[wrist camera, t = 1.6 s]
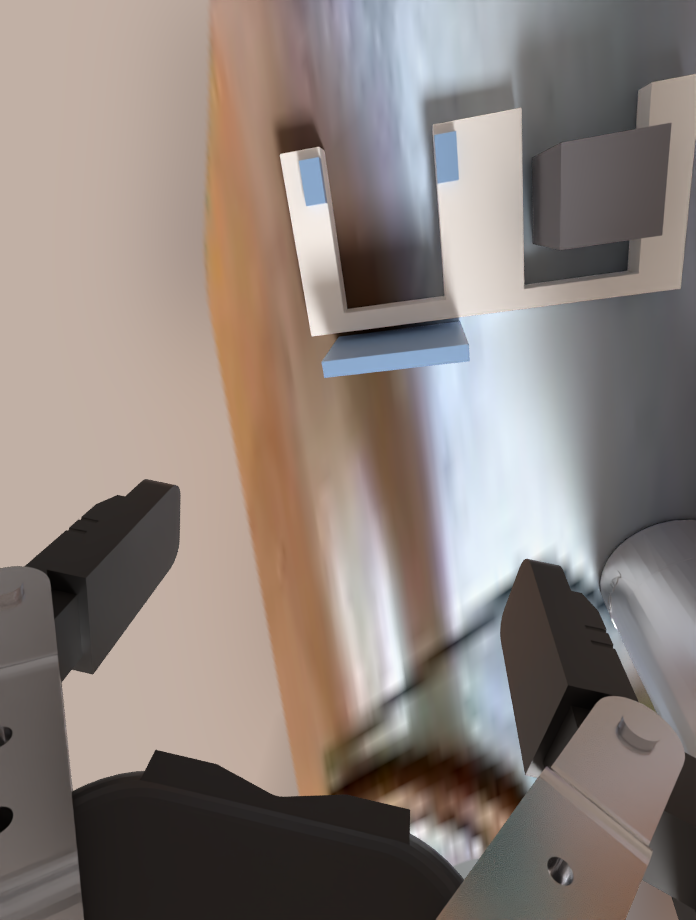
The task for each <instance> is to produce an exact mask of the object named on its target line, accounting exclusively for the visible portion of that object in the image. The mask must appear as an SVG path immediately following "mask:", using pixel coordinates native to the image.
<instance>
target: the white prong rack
mask: <svg viewBox="0 0 696 920" xmlns="http://www.w3.org/2000/svg"><path fill="white" fill-rule="evenodd" d="M666 123H672V124H671V137H670V149H669V161H668V173H667V185H666V197H665V209H664V221H663V233H662V235H661V236H655V237H648V238H641V239H634V240H629V253H628V270H627V271H621V272H614V273H606V274H599V275H592V276H584V277H577V278H570V279H563V280H555V281H548V282H541V283H533V284H526V285H524V243H523V173H522V108H516V109H511V110H506V111H501V112H496V113H490V114H485V115H480V116H475V117H470V118H465V119H459V120H454V121H449V122H444V123H439V124H434V125H433V128H432V133H433V147H434V160H435V174H436V188H437V201H438V215H439V229H440V242H441V256H442V270H443V283H444V296H438V297H431V298H424V299H417V300H409V301H402V302H395V303H387V304H380V305H373V306H365V307H358V308H351V309H347V302H346V295H345V288H344V281H343V275H342V268H341V261H340V254H339V247H338V240H337V233H336V226H335V220H334V213H333V206H332V199H331V192H330V185H329V178H328V172H327V165H326V158H325V151H324V150H323V149H322V148H320V147H315V148H309V149H304V150H299V151H294V152H289V153H284V154H280V159H281V165H282V170H283V176H284V182H285V187H286V193H287V199H288V204H289V210H290V216H291V221H292V227H293V233H294V238H295V244H296V250H297V256H298V261H299V267H300V273H301V278H302V284H303V290H304V295H305V301H306V307H307V312H308V318H309V324H310V329H311V335H312V336H318V335H326V334H334V333H342V332H349V331H357V330H365V329H372V328H380V327H388V326H396V325H403V324H411V323H419V322H427V321H434V320H442V319H450V318H457V317H465V316H473V315H481V314H488V313H496V312H504V311H512V310H519V309H527V308H535V307H543V306H550V305H558V304H566V303H573V302H581V301H589V300H597V299H604V298H612V297H620V296H628V295H635V294H643V293H651V292H659V291H666V290H674V289H681V279H682V269H683V259H684V249H685V239H686V229H687V219H688V209H689V199H690V189H691V179H692V169H693V159H694V149H695V139H696V74H692V75H687V76H682V77H677V78H672V79H666V80H661V81H656V82H652V83H650V84H648V85H646V86H645V87H643V88H641V89H640V90H638V104H637V120H636V129H638V128H644V127H649V126H655V125H660V124H666ZM466 361H470V358H469V344H468V341H467V338H466V336H465V333H464V331H463V328H462V326H461V323H460V321H457V322H449V323H441V324H434V325H426V326H418V327H410V328H402V329H395V330H387V331H379V332H371V333H363V334H356V335H348V336H340V337H338V339H337V340H336V342H335V343H334V344H333V346H332V347H331V349H330V350H329V352H328V353H327V355H326V356H325V358H324V359H323V361H322V367H323V372H324V378H327V377H335V376H344V375H353V374H362V373H370V372H379V371H388V370H396V369H405V368H414V367H423V366H431V365H440V364H449V363H457V362H466Z"/></svg>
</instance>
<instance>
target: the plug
mask: <svg viewBox="0 0 696 920" xmlns="http://www.w3.org/2000/svg"><path fill="white" fill-rule="evenodd" d="M671 124H672V123H666V124H660V125H655V126H649V127H644V128H638V129H633V130H627V131H622V132H616V133H611V134H605V135H599V136H594V137H588V138H583V139H577V140H572V141H566V142H561V143H559V144H557V145H555V146H554V147H552V148H550V149H548V150H546V151H544V152H542V153H540V154H539V155H537V156H535V157H533V158H532V208H533V244H535V245H539V246H544V247H548V248H552V249H557V250H566V249H573V248H579V247H586V246H593V245H600V244H607V243H614V242H620V241H627V240H634V239H641V238H648V237H655V236H661V235H662V233H663V221H664V209H665V197H666V185H667V173H668V161H669V149H670V137H671Z"/></svg>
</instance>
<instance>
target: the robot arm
mask: <svg viewBox="0 0 696 920" xmlns="http://www.w3.org/2000/svg"><path fill="white" fill-rule="evenodd" d="M179 536H180V489H179V487H178V486H176V485H172V484H167V483H162V482H157V481H153V480H148V479H145V480H143V481H142V482H141V483H140V484H138V485H137V486H136V487H135V488H134V489H133V490H132V491H131V492H130V493H129V494H127V495H126V496H120V495H117V496H114V497H112V498H110V499H107V500H105V501H103V502H100V503H98V504H96V505H95V506H94V507H93V508H92V509H90V510H89V511H88V512H87V513H86V514H85V515H83V516H82V518H81V520H78V521H76V522H75V523H74V524H73V525H72V526H71V527H70V528H69V530H68V531H65V532H64V533H63V534H61V535H60V536H59V537H58V538H57V539H56V540H54V541H53V542H52V543H51V544H50V545H49V546H48V547H46V548H45V549H44V550H43V551H42V552H41V553H39V554H38V555H37V556H36V557H35V558H34V559H33V560H32V561H30V562H29V563H28V564H27V565H26V566H24V567H22V566H14V567H5V568H0V920H626V917H627V915H628V912H629V910H630V907H631V905H632V903H633V900H634V898H635V895H636V893H637V891H638V888H639V885H640V883H641V881H642V880H643V881H645V882H647V883H649V884H650V885H652V886H654V887H656V888H657V889H659V890H661V891H663V892H664V893H666V894H668V895H670V896H671V897H672V900H673V903H674V906H675V909H676V913H677V916H678V919H679V920H696V520H674V521H669V522H664V523H660V524H656V525H654V526H651V527H648V528H646V529H643V530H641V531H639V532H638V533H636V534H634V535H633V536H631V537H629V538H628V539H627V540H625V541H624V542H623V543H622V544H621V545H620V546H619V547H617V548H616V550H615V551H614V552H613V553H612V555H611V556H610V557H609V559H608V560H607V562H606V564H605V567H604V569H603V571H602V576H601V581H600V586H601V595H602V597H603V600H604V603H605V605H606V607H607V609H608V611H609V614H610V617H611V619H612V621H613V623H614V625H615V627H616V629H617V630H618V632H619V634H620V636H621V638H622V641H623V643H624V645H625V647H626V649H627V651H628V653H629V656H630V658H631V660H632V662H633V664H634V666H635V668H636V670H637V672H638V674H639V676H640V678H641V681H642V683H643V685H644V687H645V689H646V691H647V693H648V695H649V697H650V699H651V701H652V703H653V706H654V708H655V710H656V712H657V713H655V712H654V711H653V710H651V709H650V708H648V707H646V706H645V705H643V704H641V703H639V702H638V700H637V697H636V695H635V693H634V691H633V688H632V686H631V684H630V682H629V679H628V677H627V675H626V673H625V670H624V668H623V666H622V664H621V661H620V659H619V657H618V655H617V652H616V650H615V649H613V643H612V641H611V639H610V637H609V634H608V633H606V627H605V625H604V623H603V621H602V618H601V616H600V614H599V612H598V610H597V609H596V608H595V607H594V606H593V605H592V604H591V603H590V602H589V601H588V600H587V598H586V597H585V596H584V595H583V594H582V593H579V592H574V591H571V589H570V587H569V584H568V582H567V579H566V577H565V574H564V572H563V569H562V568H561V566H559V565H554V564H549V563H544V562H540V561H535V560H530V559H525V560H524V561H523V562H522V564H521V566H520V568H519V571H518V574H517V576H516V579H515V582H514V584H513V587H512V590H511V593H510V595H509V598H508V601H507V603H506V606H505V609H504V612H503V615H502V620H501V629H500V637H501V644H502V649H503V655H504V660H505V666H506V671H507V677H508V682H509V688H510V693H511V699H512V704H513V710H514V716H515V721H516V727H517V732H518V738H519V743H520V749H521V754H522V760H523V765H524V771H525V775H527V776H531V777H536V778H537V780H536V781H535V782H534V784H533V785H532V787H531V788H530V789H529V791H528V792H527V793H526V795H525V796H524V798H523V799H522V800H521V802H520V803H519V805H518V806H517V807H516V809H515V810H514V812H513V813H512V814H511V816H510V817H509V818H508V820H507V821H506V823H505V824H504V825H503V827H502V828H501V830H500V831H499V832H498V834H497V835H496V837H495V838H494V839H493V841H492V842H491V843H490V845H489V846H488V848H487V849H486V850H485V852H484V853H483V855H482V856H481V857H480V859H479V860H478V862H477V863H476V864H475V866H474V867H473V869H472V870H471V871H470V873H469V874H468V875H467V877H466V878H465V880H464V879H463V878H462V876H461V875H460V874H459V873H458V872H457V871H456V870H455V869H454V868H453V867H452V865H451V864H450V863H449V862H448V861H447V860H446V859H445V858H443V857H442V856H441V855H440V854H439V853H438V852H437V851H435V850H434V849H433V848H432V847H430V846H429V845H427V844H426V843H425V842H423V841H422V840H420V839H419V838H417V837H415V836H413V835H412V834H410V810H409V809H405V808H401V807H396V806H392V805H388V804H384V803H379V802H375V801H371V800H367V799H362V798H358V797H354V796H350V795H323V796H294V797H279V796H275V795H272V794H270V793H268V792H266V791H265V790H263V789H261V788H259V787H257V786H256V785H254V784H252V783H250V782H248V781H246V780H245V779H243V778H241V777H239V776H237V775H235V774H234V773H232V772H230V771H228V770H226V769H225V768H223V767H221V766H219V765H217V764H214V763H209V762H205V761H201V760H197V759H192V758H188V757H184V756H179V755H175V754H171V753H167V752H163V751H158V750H155V752H154V754H153V756H152V758H151V760H150V762H149V764H148V766H147V768H146V770H145V771H136V772H129V773H123V774H118V775H114V776H110V777H106V778H103V779H100V780H97V781H95V782H92V783H90V784H87V785H85V786H83V787H80V788H78V789H76V790H74V791H73V789H72V779H71V769H70V760H69V750H68V741H67V731H66V722H65V712H64V703H63V692H62V681H63V680H64V679H65V677H66V676H67V675H68V673H69V672H70V671H71V670H76V671H80V672H85V673H89V674H94V672H95V671H96V670H97V668H98V667H99V666H100V664H101V663H102V661H103V660H104V659H105V657H106V656H107V654H108V653H109V652H110V651H111V649H112V648H113V646H114V645H115V643H116V642H117V641H118V639H119V638H120V637H121V635H122V634H123V632H124V631H125V630H126V629H127V627H128V626H129V624H130V623H131V622H132V620H133V619H134V618H135V616H136V615H137V613H138V612H139V611H140V609H141V608H142V607H143V605H144V604H145V603H146V601H147V600H148V598H149V597H150V596H151V594H152V593H153V592H154V590H155V588H156V587H157V586H158V585H159V583H160V582H161V581H162V579H163V578H164V576H165V575H166V574H167V572H168V571H169V569H170V568H171V566H172V565H173V563H174V561H175V558H176V555H177V552H178V548H179V538H180V537H179Z"/></svg>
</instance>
